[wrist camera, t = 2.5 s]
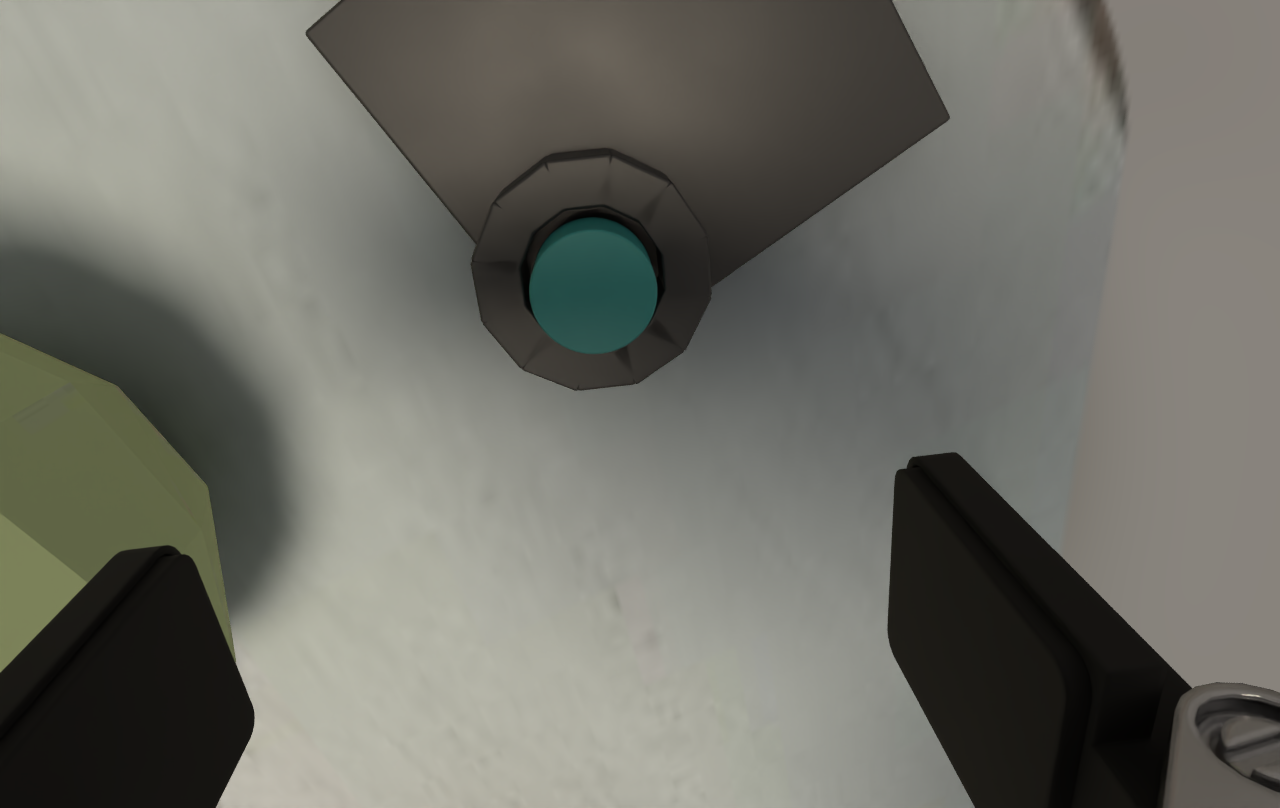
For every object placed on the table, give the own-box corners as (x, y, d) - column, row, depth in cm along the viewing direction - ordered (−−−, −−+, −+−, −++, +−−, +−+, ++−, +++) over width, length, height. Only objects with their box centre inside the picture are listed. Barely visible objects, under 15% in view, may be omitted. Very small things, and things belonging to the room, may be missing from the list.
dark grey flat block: (940, 131, 21) (994, 138, 18) (573, 388, 23) (571, 429, 20) (714, -313, 17) (739, -389, 14) (297, 54, 19) (248, 49, 16)
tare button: (674, 288, 19) (682, 307, 18) (582, 354, 20) (581, 378, 18) (605, 191, 18) (607, 202, 17) (509, 264, 19) (502, 280, 17)
